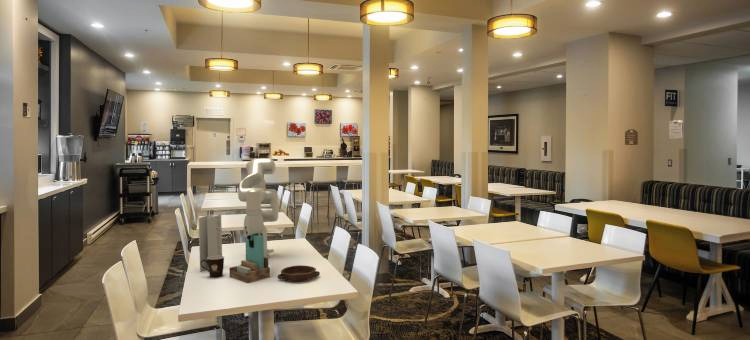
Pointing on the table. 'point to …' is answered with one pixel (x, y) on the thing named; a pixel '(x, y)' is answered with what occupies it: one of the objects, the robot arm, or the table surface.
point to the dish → (298, 273)
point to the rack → (251, 273)
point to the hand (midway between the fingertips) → (254, 246)
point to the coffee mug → (215, 265)
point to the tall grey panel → (209, 238)
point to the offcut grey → (243, 270)
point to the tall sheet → (256, 251)
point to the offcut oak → (249, 265)
